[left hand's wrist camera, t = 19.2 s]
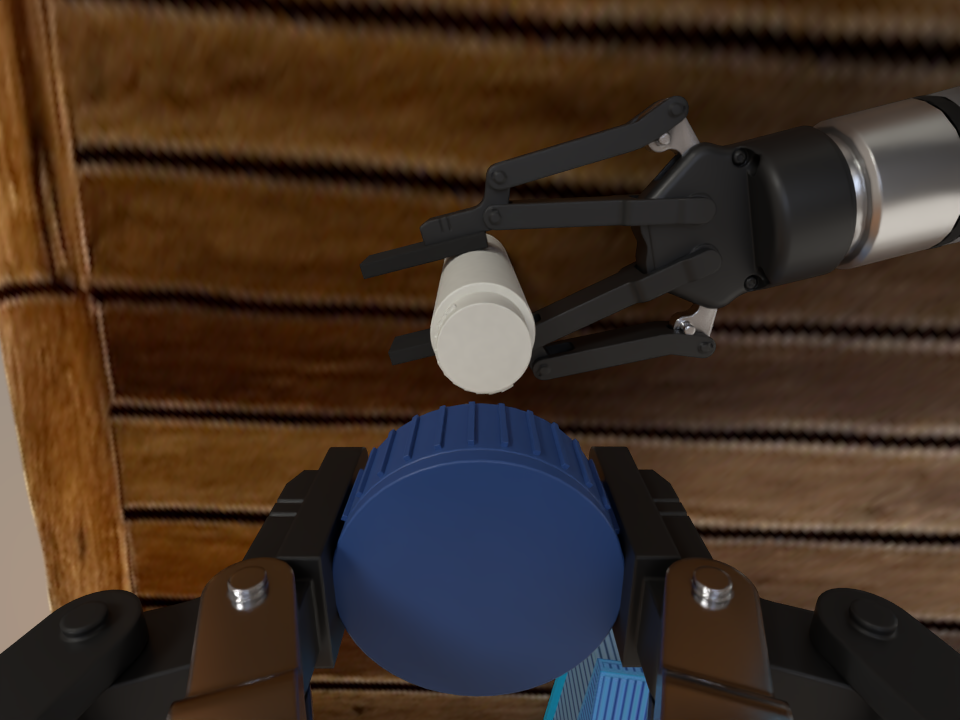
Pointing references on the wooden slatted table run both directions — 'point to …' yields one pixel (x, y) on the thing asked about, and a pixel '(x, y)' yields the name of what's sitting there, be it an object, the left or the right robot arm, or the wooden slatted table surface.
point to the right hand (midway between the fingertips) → (381, 309)
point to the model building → (600, 689)
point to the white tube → (482, 321)
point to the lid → (478, 553)
